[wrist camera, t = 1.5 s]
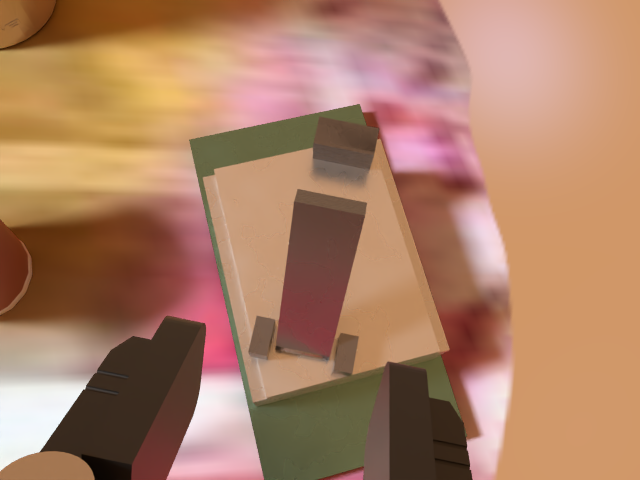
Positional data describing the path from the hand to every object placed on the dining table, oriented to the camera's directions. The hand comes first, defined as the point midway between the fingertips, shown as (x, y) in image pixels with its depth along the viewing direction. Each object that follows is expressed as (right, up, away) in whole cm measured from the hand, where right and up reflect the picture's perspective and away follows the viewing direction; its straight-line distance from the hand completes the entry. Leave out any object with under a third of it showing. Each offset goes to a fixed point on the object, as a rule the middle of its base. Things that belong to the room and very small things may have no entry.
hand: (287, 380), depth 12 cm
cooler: (+1, 0, +30) cm, 30 cm away
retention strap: (0, +1, +18) cm, 18 cm away
